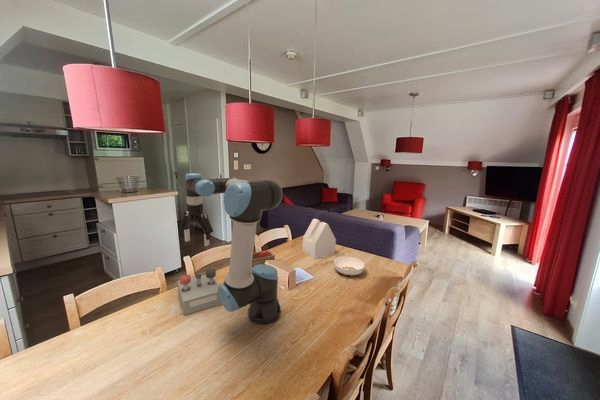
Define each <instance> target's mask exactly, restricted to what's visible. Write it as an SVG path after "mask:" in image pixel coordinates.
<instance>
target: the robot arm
mask: <svg viewBox="0 0 600 400" xmlns="http://www.w3.org/2000/svg"><path fill="white" fill-rule="evenodd" d="M184 178H185V180H184V183H185V195H186V196H185V197H186V211H184V212H183V217H182V219H181V222H180V226H179V227H180V229H182V230H183V235H184V242H185V243H187V242H191V241H190V240H191V236H190V235H191V234H190V233H191V232H190V226H191V225H192V223H193V222H194V223H197V224H199V226H200V227H201V229H202V230H203V232H204V234H203V237H204V238H203V240H204V241H203V243H204V247H208V246H210V244H211V243H210V240H211V234H212V233H213V232H214V230H213V227H212V225H211V222H210V220H209V216H208V214H207V213H205V214H203V211H204V204H203V197H209V196H212V195H218V194H223V205H224V207H223V208H224V211H225V213H226V214H227V216H229V219H230V220H231V221H232V232H231V244H230V254H229V255H230V259H229V267H228V269H229V270H228V272H227V273H226V274H225V275H224V281H223V283H221V284H218V285H219V286H218V295H219V298H220V301H221V303H222V304H221V305H222V306H223V308H224V309H225V310H226V311H227V312H229V313H231V312H235V311H237V310H240V309H242V308H243V307H246V306H247V305H249V306H248V310H247V316H248V318H249V320H250V321H251V322H252V323H255V324H257V325H269V324H271V323H273V322H276V321H277V320H278V319H279V318H280V316H281V314H282V313H281V311H282V310H281V309H282V308H281V305H280V302H279V299H278V281H279V277H278V270H277V269H276V267H274V266H272V265H270V264H260V265H255V266H254V267H252V259H253V253H254V248H255V240H256V234H257V223H259V222H260V221H261V220H262V216H263V212H265V211H266V212H267V211H271V210H273V209H275V208H277V207H278V206H279V205H280V203H281V202H282V200H283V196H284V194H283V193H284V192H283V188H282V187H281V185H280V184H279V183H278V182H276V181H274V180H272V179H271V180H270V179H261V180H260V179H259V180H246V179H245V180H243V179H238V178H237V177H225V178H224V177H223V178H207V179H206V178H205V179H204V178H202V174H201V173H194V172H193V173H192V172H191V173H186V174H185V176H184ZM251 267H252V268H251Z"/></svg>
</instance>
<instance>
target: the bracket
mask: <svg viewBox="0 0 600 400" xmlns="http://www.w3.org/2000/svg"><path fill="white" fill-rule="evenodd" d="M261 252H262V251H261ZM264 255H266V256H270V255H269V254H268V253H267V252H262V253H261V254H260V256H259V258H262V257H263V256H264Z"/></svg>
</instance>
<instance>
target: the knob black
mask: <svg viewBox="0 0 600 400" xmlns="http://www.w3.org/2000/svg"><path fill="white" fill-rule="evenodd" d="M205 275H206V277H207V278H209V285H211V284H214V281H213V277H214V278H215V277H216V276H217V271H216V269H214V268H209V269H207V270H206V271H205Z"/></svg>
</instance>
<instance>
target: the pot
mask: <svg viewBox="0 0 600 400" xmlns="http://www.w3.org/2000/svg"><path fill="white" fill-rule="evenodd" d="M201 276H202V274H201V273H197V274H196V275H195V277H196V281H197V287H200V286H201Z"/></svg>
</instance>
